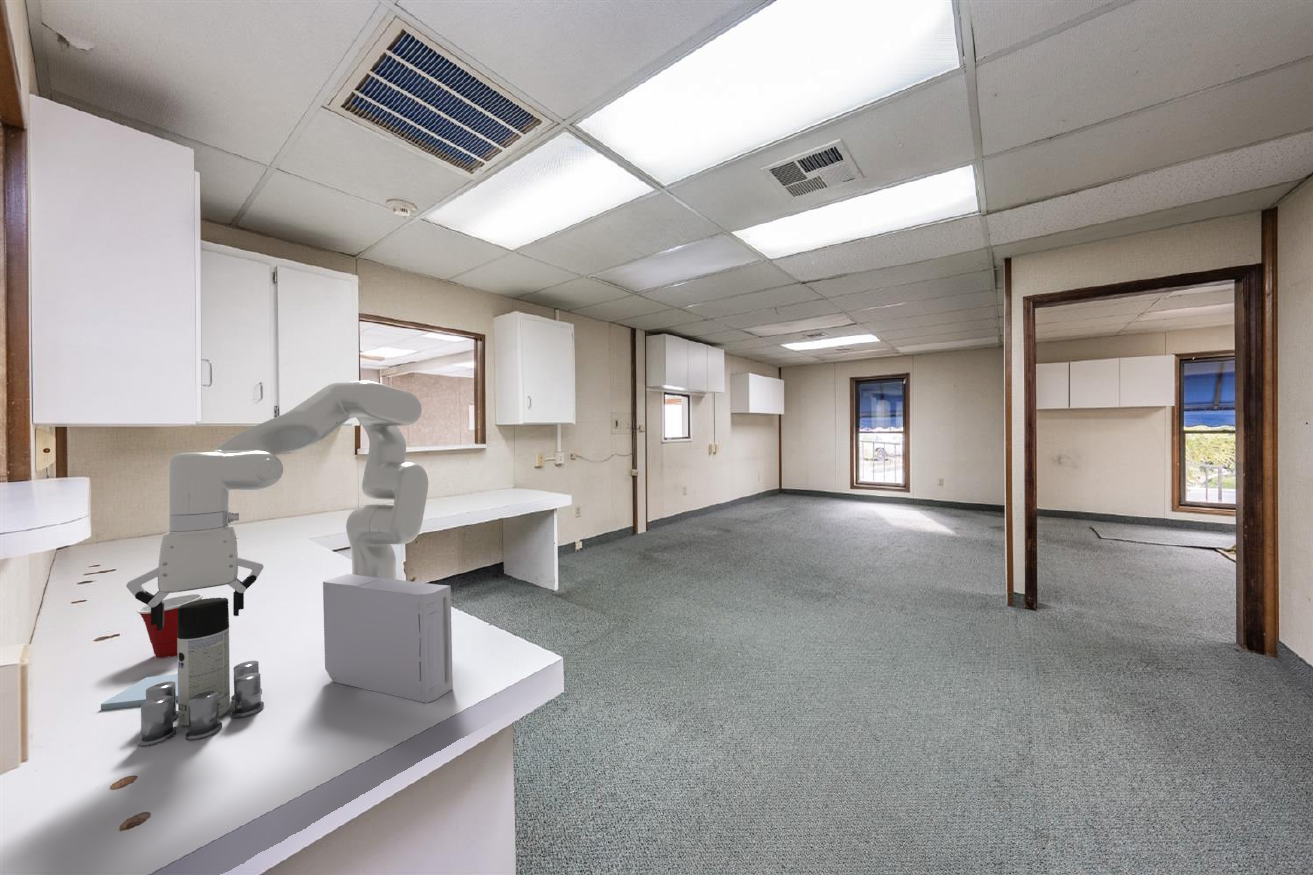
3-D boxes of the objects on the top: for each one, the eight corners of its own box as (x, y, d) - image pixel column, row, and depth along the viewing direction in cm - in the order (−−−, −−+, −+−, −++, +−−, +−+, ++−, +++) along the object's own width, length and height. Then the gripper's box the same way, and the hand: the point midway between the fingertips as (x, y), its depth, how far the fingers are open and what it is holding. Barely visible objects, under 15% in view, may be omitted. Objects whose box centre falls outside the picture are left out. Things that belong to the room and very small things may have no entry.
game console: (429, 705, 87) (426, 595, 87) (323, 681, 97) (321, 582, 96) (453, 689, 93) (451, 585, 92) (351, 667, 102) (349, 573, 102)
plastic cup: (155, 647, 114) (153, 596, 114) (213, 639, 118) (212, 590, 118) (125, 667, 104) (123, 612, 104) (190, 658, 108) (188, 604, 108)
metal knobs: (286, 687, 94) (285, 656, 94) (233, 735, 79) (232, 699, 79) (181, 698, 91) (180, 667, 91) (105, 752, 76) (104, 713, 75)
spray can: (201, 706, 88) (198, 597, 88) (240, 704, 89) (238, 595, 88) (167, 728, 81) (164, 610, 81) (210, 726, 82) (207, 608, 82)
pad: (221, 674, 100) (221, 669, 100) (185, 700, 90) (185, 694, 90) (146, 682, 97) (146, 677, 97) (100, 709, 88) (100, 704, 88)
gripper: (262, 515, 93) (262, 604, 93) (130, 526, 82) (129, 628, 81) (264, 519, 88) (264, 614, 87) (123, 531, 76) (122, 641, 76)
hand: (199, 620), depth 84 cm, fingers open, 9 cm apart
